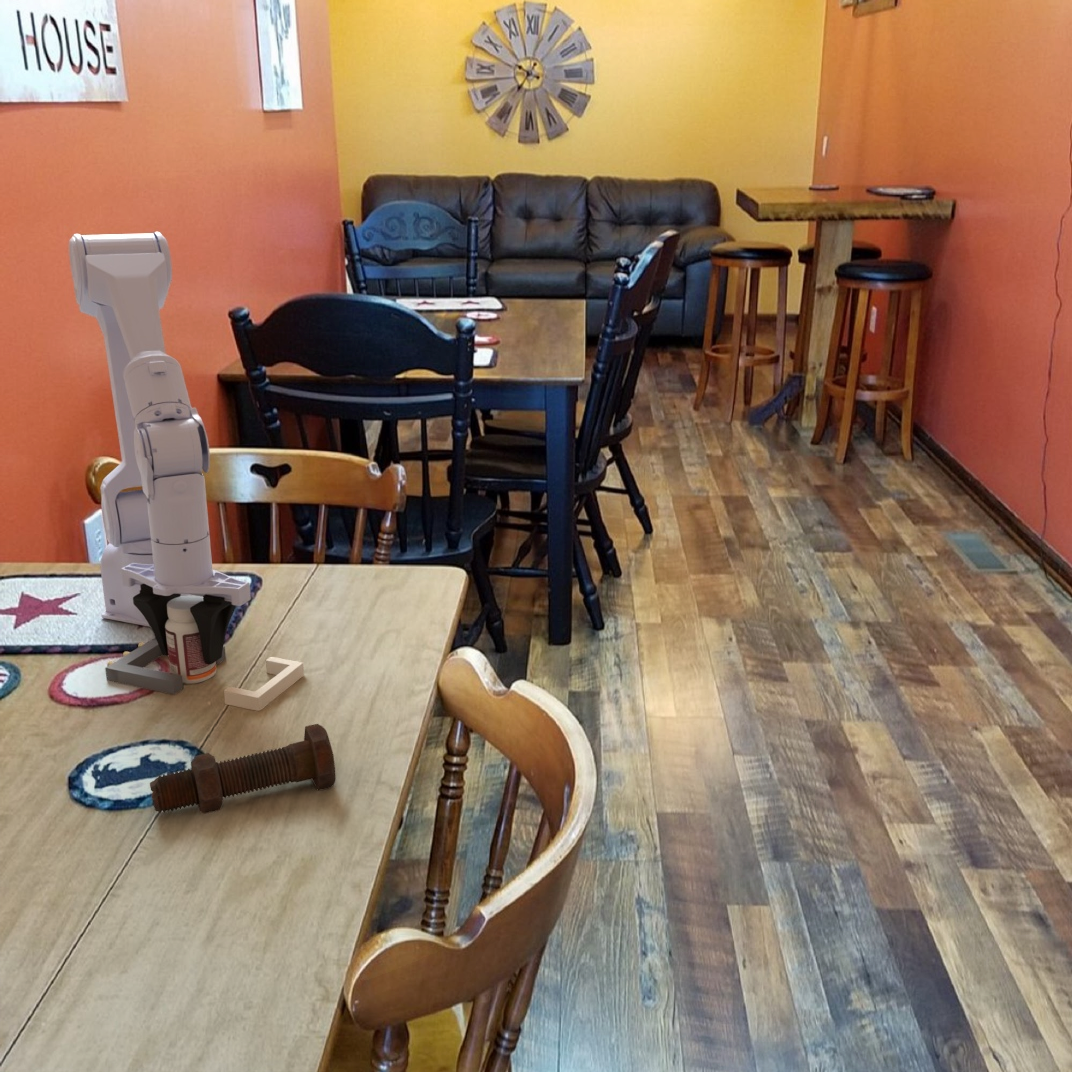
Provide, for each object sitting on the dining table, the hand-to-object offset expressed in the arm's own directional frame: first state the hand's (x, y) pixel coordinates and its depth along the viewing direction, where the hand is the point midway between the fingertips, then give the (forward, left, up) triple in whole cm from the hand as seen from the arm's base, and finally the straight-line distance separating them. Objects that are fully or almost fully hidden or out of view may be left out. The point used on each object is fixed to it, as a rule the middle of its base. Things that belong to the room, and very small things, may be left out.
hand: (192, 656), depth 119 cm
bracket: (+9, 0, -2) cm, 9 cm away
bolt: (+18, -18, -3) cm, 25 cm away
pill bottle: (0, 0, -2) cm, 2 cm away
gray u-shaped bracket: (-4, 0, -2) cm, 5 cm away
